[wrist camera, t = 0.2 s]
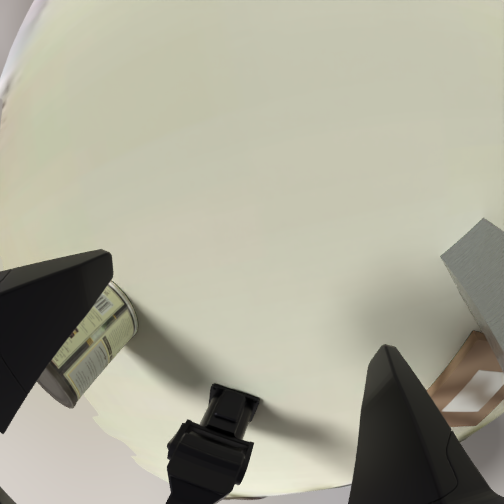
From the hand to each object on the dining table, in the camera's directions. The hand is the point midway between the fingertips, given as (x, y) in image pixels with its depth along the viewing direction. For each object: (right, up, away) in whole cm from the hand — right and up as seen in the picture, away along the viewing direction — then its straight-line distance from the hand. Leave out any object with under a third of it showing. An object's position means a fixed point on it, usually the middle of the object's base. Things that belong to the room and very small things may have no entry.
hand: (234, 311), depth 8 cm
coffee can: (-18, -6, +24) cm, 31 cm away
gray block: (+20, +1, +10) cm, 22 cm away
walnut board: (+30, -16, +15) cm, 37 cm away
